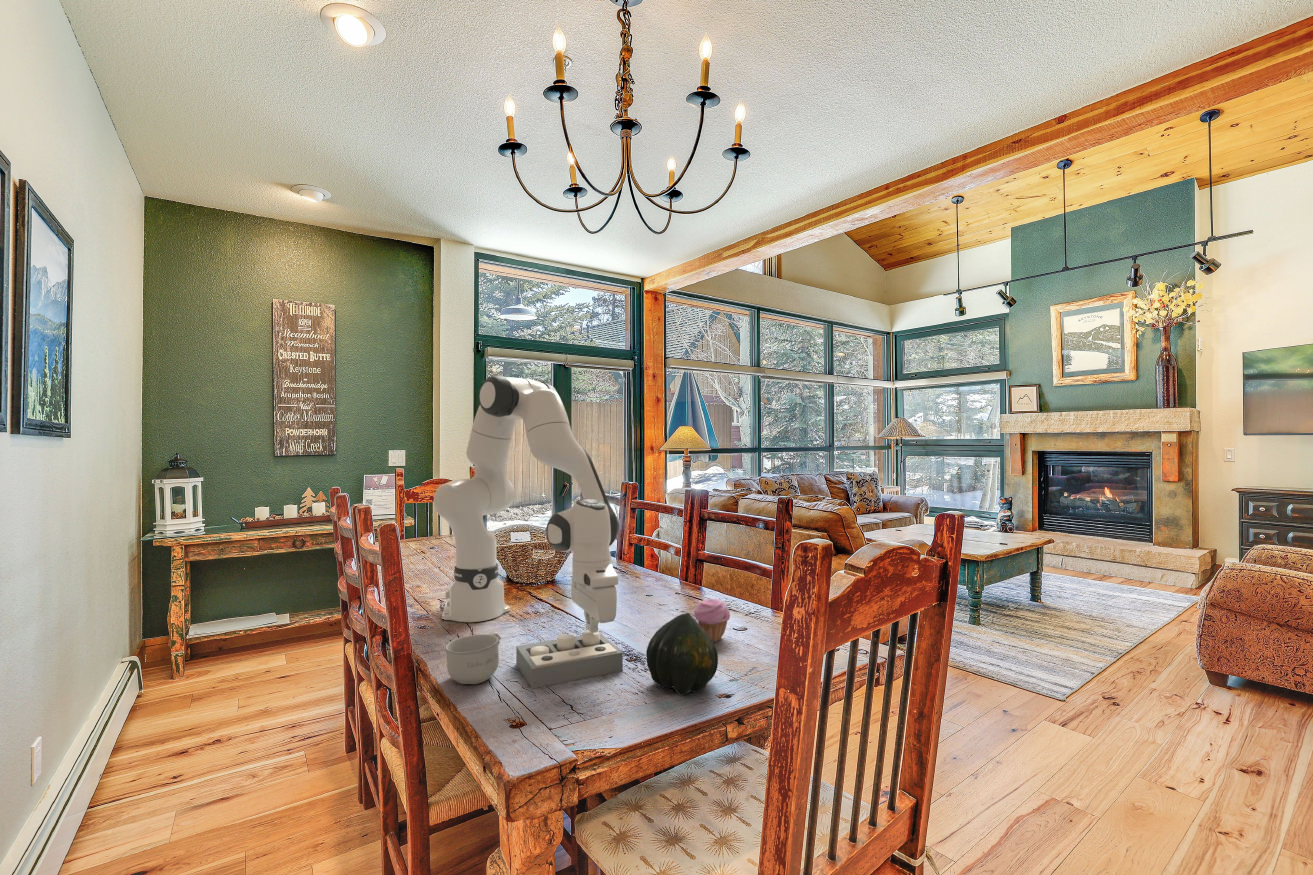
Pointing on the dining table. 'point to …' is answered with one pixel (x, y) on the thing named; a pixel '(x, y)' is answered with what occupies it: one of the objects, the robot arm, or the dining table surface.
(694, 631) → the squash
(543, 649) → the button
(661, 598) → the dining table surface
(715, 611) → the cupcake
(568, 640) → the button
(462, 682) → the teacup
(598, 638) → the button
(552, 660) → the button board
